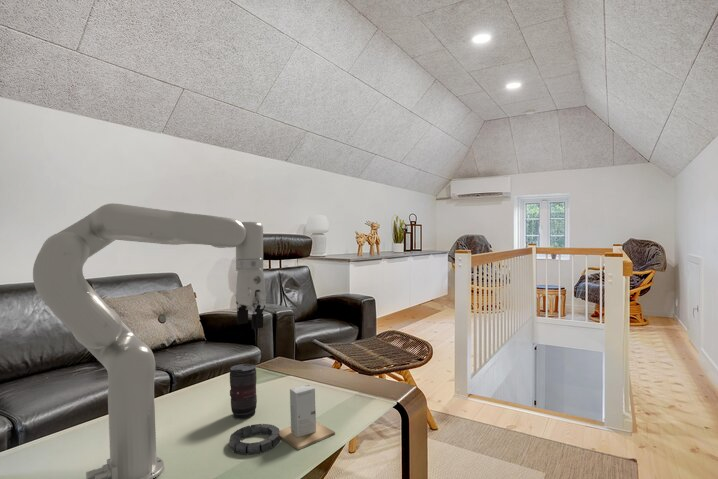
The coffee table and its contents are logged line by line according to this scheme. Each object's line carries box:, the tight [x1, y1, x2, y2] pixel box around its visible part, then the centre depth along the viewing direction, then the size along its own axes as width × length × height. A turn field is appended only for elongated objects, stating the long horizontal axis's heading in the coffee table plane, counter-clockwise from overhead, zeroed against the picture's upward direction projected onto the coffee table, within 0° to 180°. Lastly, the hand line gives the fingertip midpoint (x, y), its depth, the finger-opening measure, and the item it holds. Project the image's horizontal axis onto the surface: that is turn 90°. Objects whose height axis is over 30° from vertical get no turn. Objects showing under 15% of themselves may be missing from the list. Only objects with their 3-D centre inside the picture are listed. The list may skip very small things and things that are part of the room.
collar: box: [228, 423, 281, 456], centre depth 110 cm, size 13×13×2 cm
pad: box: [279, 421, 336, 451], centre depth 114 cm, size 12×12×1 cm
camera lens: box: [229, 363, 258, 420], centre depth 128 cm, size 8×8×15 cm
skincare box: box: [289, 384, 317, 437], centre depth 114 cm, size 6×4×12 cm
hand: (249, 325), depth 115 cm, fingers open, 9 cm apart
